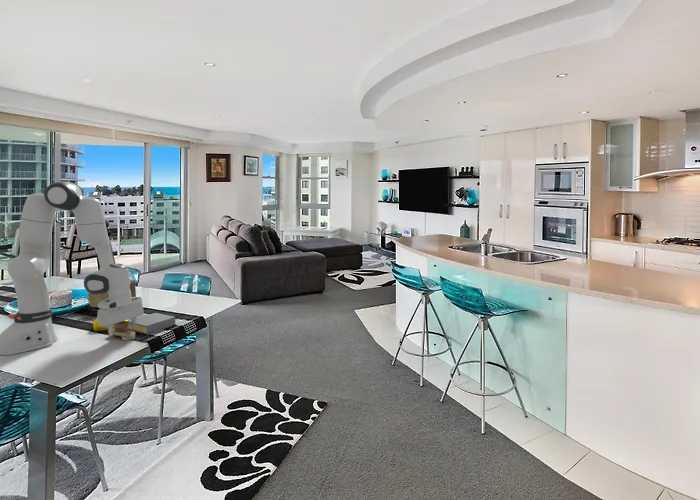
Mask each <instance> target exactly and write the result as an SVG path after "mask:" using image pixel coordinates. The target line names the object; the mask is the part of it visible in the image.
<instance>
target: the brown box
mask: <svg viewBox="0 0 700 500" xmlns="http://www.w3.org/2000/svg"><path fill="white" fill-rule="evenodd" d="M114 326H115V330H116V332H120V333H124V332H127V331H129V329H128V322H125V321H122V322H119V323H115V324H114Z"/></svg>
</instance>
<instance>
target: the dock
mask: <svg viewBox="0 0 700 500" xmlns="http://www.w3.org/2000/svg"><path fill="white" fill-rule="evenodd" d="M131 321H132V320H128V321H126V322H128V329H129V330H130V331H134V332H135V331H136V332H135V333H139V332H140V334H143V333H144V334H145V335H149V334H152V333H155V331H156V332H158V330H159V331H162V330H164V329H167V328H171V327H173V325H174V326H176V316H173V315H167V314H164V313H158V312H154V313H150V314H146V315H142V316H139V317H137V320H136V322H135V327H133V328H130V327H129V326H130V325H129V324H130V323H131ZM161 329H162V330H161Z"/></svg>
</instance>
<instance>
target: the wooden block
mask: <svg viewBox="0 0 700 500" xmlns="http://www.w3.org/2000/svg"><path fill="white" fill-rule="evenodd" d="M130 291H131V298H132V297H136V296H137V293H136V291H137V289H136V281H135V280H130Z"/></svg>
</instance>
